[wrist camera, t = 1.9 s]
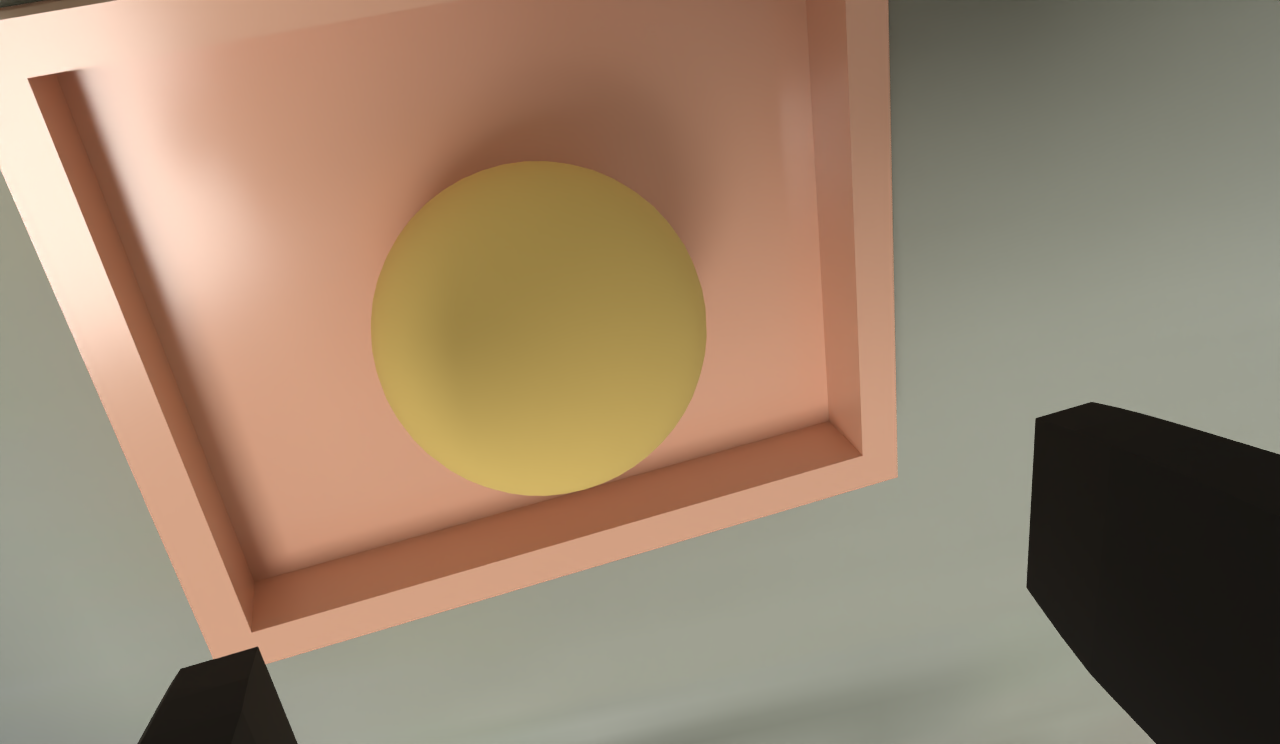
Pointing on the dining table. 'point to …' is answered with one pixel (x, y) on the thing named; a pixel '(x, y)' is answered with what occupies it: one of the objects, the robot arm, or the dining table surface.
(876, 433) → the dish
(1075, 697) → the dining table surface
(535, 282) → the ball
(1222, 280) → the dining table surface
